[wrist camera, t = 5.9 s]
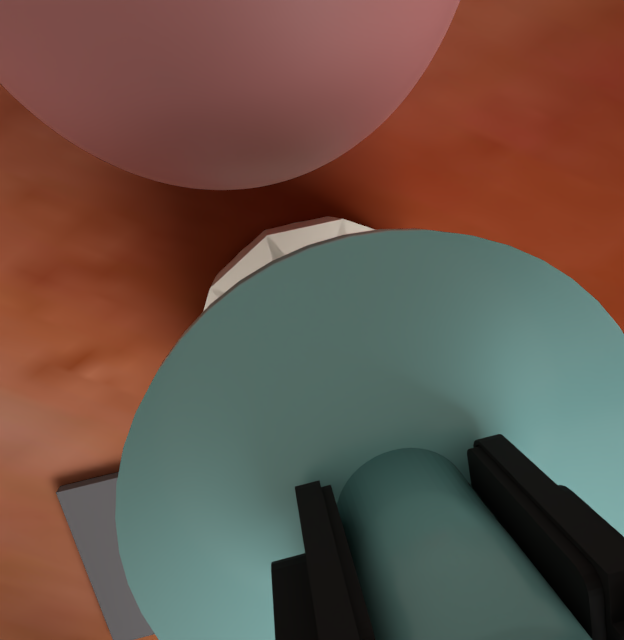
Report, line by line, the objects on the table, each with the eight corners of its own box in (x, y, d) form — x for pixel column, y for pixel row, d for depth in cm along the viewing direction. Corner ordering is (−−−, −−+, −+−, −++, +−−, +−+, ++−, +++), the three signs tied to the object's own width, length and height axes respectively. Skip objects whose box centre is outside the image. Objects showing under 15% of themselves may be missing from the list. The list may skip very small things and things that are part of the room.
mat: (246, 440, 26) (246, 445, 26) (286, 590, 29) (287, 598, 28) (60, 486, 26) (56, 492, 25) (117, 635, 28) (114, 644, 28)
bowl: (406, 197, 24) (444, 196, 20) (438, 406, 27) (478, 449, 22) (179, 247, 24) (160, 258, 19) (236, 456, 27) (232, 511, 22)
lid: (613, 174, 11) (984, 144, 5) (634, 617, 14) (882, 884, 8) (49, 299, 10) (-195, 417, 4) (206, 742, 13) (174, 1130, 7)
